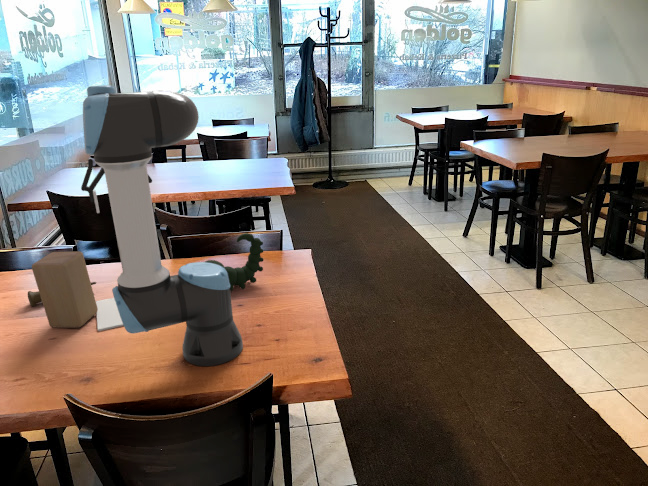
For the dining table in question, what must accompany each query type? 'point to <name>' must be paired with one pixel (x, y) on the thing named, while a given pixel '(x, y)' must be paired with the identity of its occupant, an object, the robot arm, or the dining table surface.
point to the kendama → (38, 297)
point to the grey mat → (108, 314)
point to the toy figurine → (252, 265)
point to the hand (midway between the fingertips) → (121, 208)
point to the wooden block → (65, 289)
